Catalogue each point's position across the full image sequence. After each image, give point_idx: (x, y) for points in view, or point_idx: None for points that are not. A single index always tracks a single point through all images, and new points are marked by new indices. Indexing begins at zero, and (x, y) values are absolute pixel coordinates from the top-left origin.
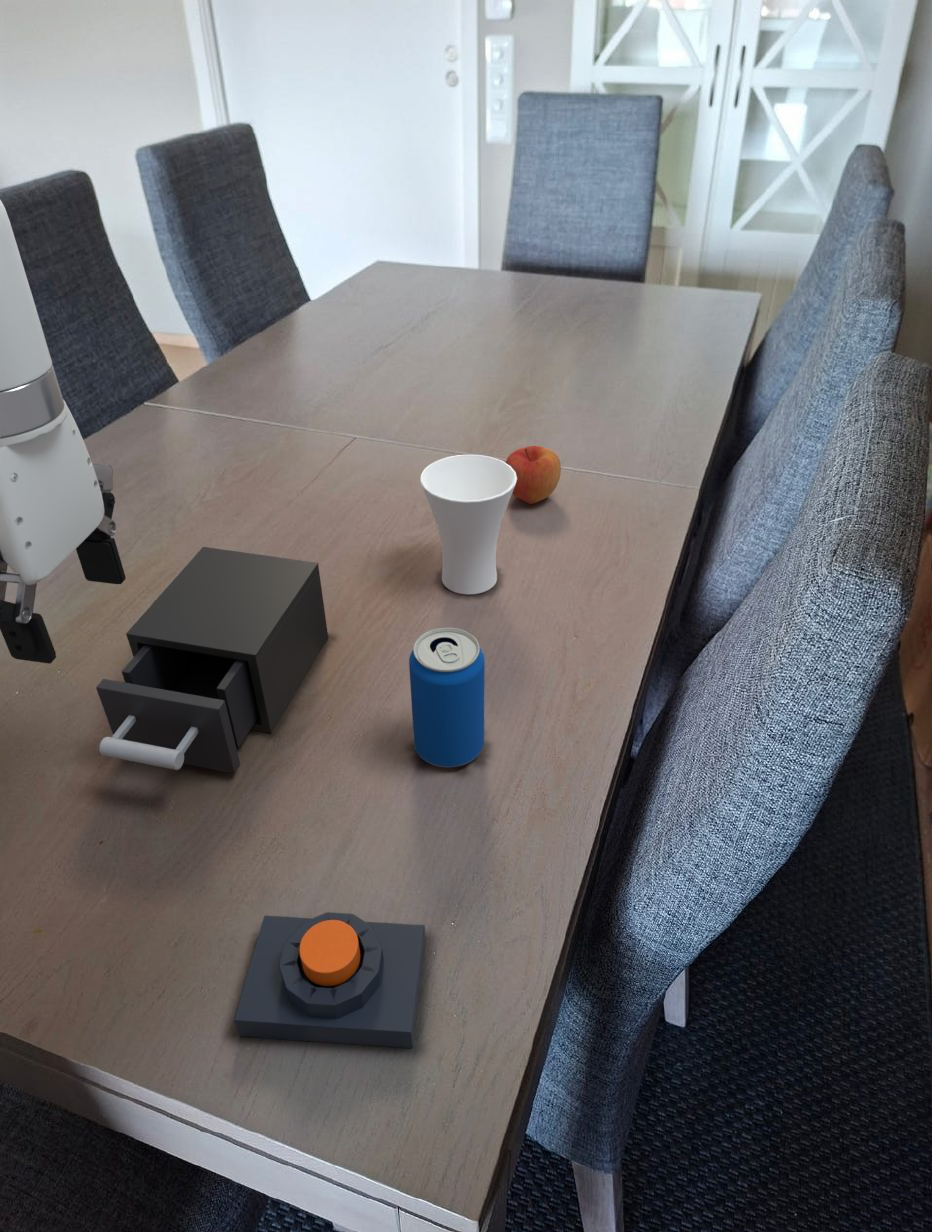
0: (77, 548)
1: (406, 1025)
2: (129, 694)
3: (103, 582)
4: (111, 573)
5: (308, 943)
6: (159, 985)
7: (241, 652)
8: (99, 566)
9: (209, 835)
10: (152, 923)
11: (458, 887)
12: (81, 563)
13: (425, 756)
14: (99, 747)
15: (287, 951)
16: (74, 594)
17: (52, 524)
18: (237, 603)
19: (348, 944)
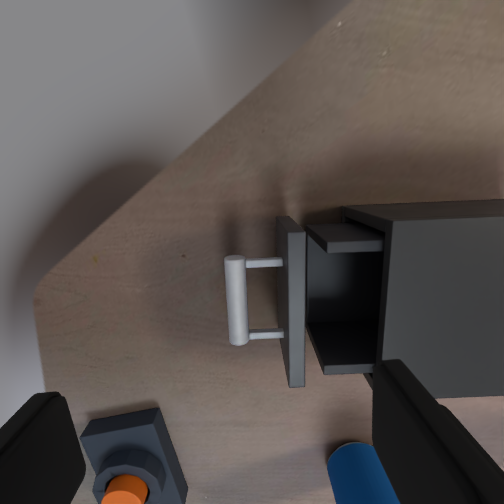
0: (441, 471)
1: None
2: (287, 279)
3: (373, 404)
4: (387, 462)
5: (117, 495)
6: (97, 362)
7: None
8: (398, 456)
9: (219, 333)
10: (134, 334)
11: (232, 493)
12: (403, 408)
13: (331, 461)
14: (226, 259)
15: (118, 468)
16: None
17: None
18: (482, 334)
19: None
